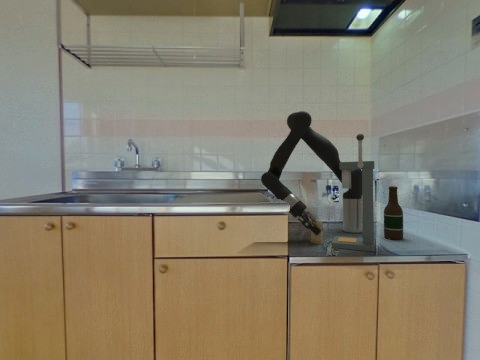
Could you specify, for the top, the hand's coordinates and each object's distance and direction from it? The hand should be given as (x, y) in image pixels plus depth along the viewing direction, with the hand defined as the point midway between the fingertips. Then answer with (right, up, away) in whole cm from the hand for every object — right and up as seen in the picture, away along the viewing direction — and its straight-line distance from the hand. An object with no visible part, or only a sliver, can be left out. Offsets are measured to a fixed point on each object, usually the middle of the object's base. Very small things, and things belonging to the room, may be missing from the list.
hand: (320, 232), depth 117 cm
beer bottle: (+36, -4, +6) cm, 37 cm away
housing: (-1, -5, +1) cm, 5 cm away
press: (+12, -4, -6) cm, 14 cm away
